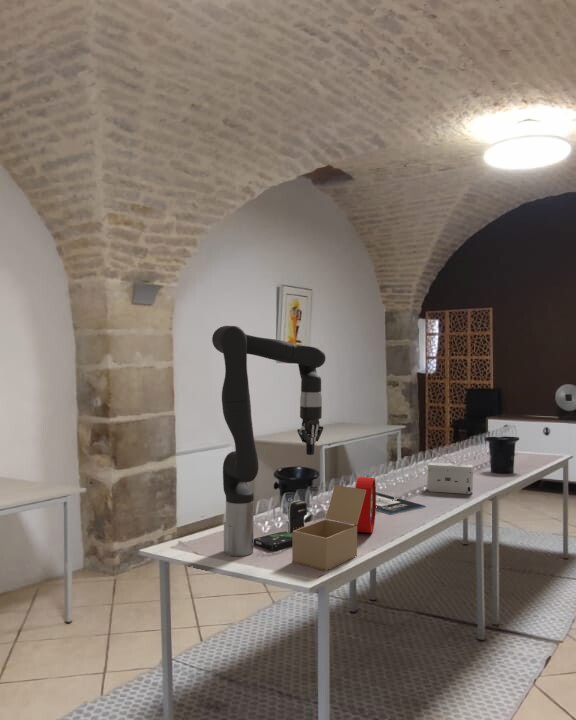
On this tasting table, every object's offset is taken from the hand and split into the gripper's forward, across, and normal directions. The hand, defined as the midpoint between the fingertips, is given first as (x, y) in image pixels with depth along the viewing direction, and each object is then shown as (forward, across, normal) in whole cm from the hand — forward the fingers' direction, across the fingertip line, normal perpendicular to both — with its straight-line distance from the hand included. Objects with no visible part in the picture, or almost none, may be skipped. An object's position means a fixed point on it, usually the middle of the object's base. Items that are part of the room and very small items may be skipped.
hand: (310, 454), depth 232 cm
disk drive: (+32, +8, -7) cm, 33 cm away
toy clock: (+31, -24, +8) cm, 40 cm away
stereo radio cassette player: (+31, -107, +5) cm, 112 cm away
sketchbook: (+32, -66, -8) cm, 74 cm away
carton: (+31, +11, +14) cm, 36 cm away
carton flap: (+15, -1, +14) cm, 21 cm away
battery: (+31, -8, -11) cm, 34 cm away
